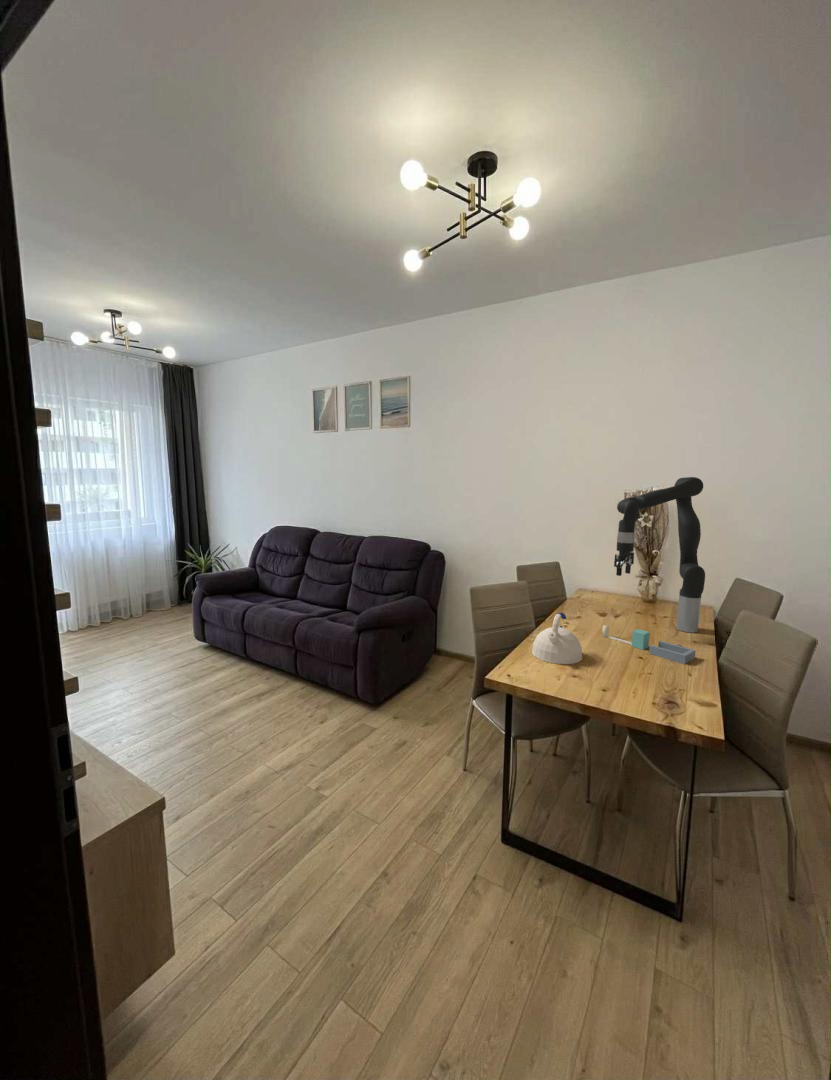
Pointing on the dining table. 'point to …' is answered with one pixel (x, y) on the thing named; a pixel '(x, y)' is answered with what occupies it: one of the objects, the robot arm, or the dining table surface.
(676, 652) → the lane
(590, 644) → the dining table surface
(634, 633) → the tethered block
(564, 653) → the kettle
